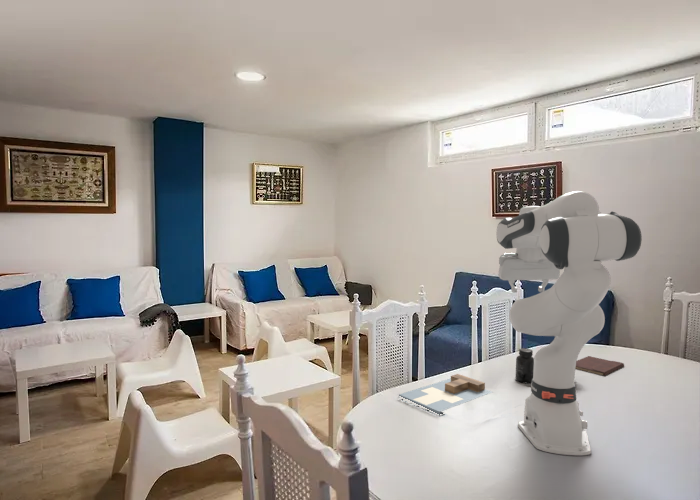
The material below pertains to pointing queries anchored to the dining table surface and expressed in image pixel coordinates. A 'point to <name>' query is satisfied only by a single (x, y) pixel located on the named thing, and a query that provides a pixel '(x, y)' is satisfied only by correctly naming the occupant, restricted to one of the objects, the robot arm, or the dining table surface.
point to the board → (440, 396)
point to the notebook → (598, 365)
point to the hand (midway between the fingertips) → (527, 291)
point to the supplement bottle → (524, 366)
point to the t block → (463, 384)
